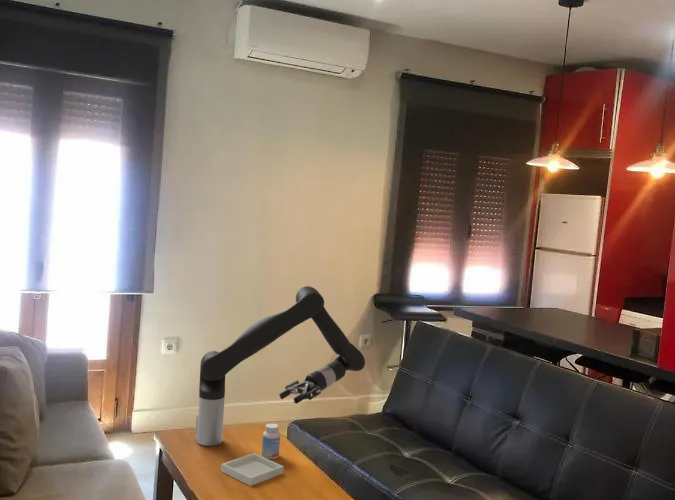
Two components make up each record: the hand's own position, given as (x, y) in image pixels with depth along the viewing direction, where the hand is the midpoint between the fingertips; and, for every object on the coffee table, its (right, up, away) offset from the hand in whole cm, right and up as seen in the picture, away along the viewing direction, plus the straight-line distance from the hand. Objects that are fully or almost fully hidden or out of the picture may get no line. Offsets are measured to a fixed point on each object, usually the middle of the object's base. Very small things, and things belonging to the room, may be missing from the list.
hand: (287, 398), depth 250 cm
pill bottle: (-6, -20, -3) cm, 21 cm away
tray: (-11, -21, -17) cm, 29 cm away
